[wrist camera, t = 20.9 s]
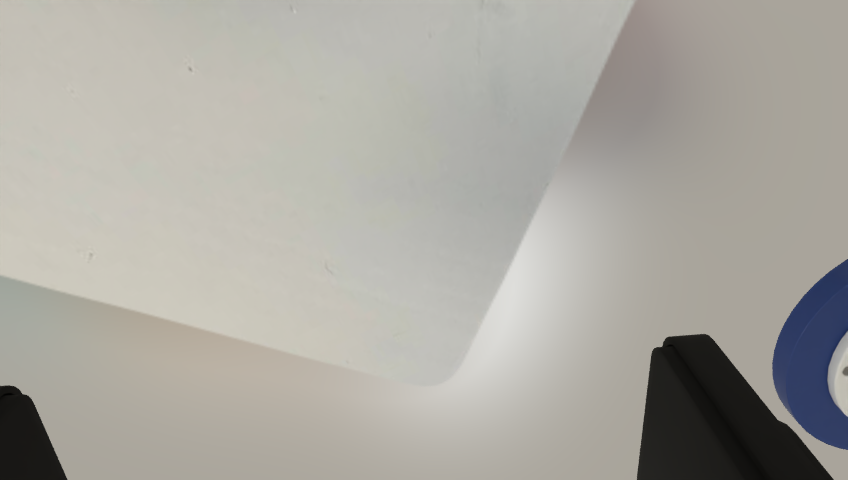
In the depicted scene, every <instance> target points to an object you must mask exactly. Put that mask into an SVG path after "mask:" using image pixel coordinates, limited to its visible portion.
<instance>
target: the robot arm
mask: <svg viewBox="0 0 848 480" xmlns="http://www.w3.org/2000/svg"><path fill="white" fill-rule="evenodd" d="M827 381H828V387H829V393H830V395H831V397H832V399H833V401H834V403H835V404H836V405H837V406H838V407H839V408H840V410H841V411H842V412H843V413H844V414H845V415H846V416H847V417H848V331H847V332H846V334H845V335H844V336H843V337H842V339H841V340H840V342H839V344H838V346H837V347H836V349H835V351H834V353H833V355H832V358H831V361H830V364H829V368H828V378H827ZM0 480H67V478H66V476H65V473H64V471H63V469H62V467H61V464H60V462H59V460H58V457H57V455H56V453H55V451H54V448H53V446H52V444H51V441H50V439H49V437H48V435H47V432H46V430H45V428H44V426H43V423H42V421H41V419H40V417H39V414H38V412H37V410H36V407H35V405H34V403H33V401H32V399H31V398H30V397H29V396H27V395H23V394H22V393H21V391H20V390H19V389H18V388H16V387H14V386H0ZM637 480H833V478H832V477H831V476H830V475H829V473H828V472H827V471H826V470H825V468H824V467H823V466H822V465H821V464H820V462H819V461H818V460H817V459H816V457H815V456H814V455H813V454H812V453H811V451H810V450H809V449H808V448H807V446H806V445H805V444H804V443H803V442H802V440H801V439H800V438H799V437H798V435H797V434H796V433H795V432H794V431H793V430H792V429H791V428H790V427H789V426H788V425H787V424H785V423H783V422H781V421H778V420H777V419H776V417H775V416H774V415H773V414H772V413H771V411H770V410H769V409H768V407H767V406H766V405H765V404H764V403H763V401H762V400H761V399H760V398H759V396H758V395H757V394H756V392H755V391H754V390H753V389H752V387H751V386H750V385H749V384H748V382H747V381H746V380H745V379H744V377H743V376H742V375H741V374H740V373H739V371H738V370H737V369H736V368H735V366H734V365H733V364H732V363H731V361H730V360H729V359H728V357H727V356H726V355H725V354H724V353H723V351H722V350H721V349H720V348H719V346H718V345H717V344H716V343H715V341H714V340H713V339H712V338H711V337H710V336H709V335H706V334H700V335H686V336H673V337H667V338H666V339H665V341H664V342H663V346H662V347H657V348H654V349H653V351H652V356H651V363H650V371H649V380H648V388H647V397H646V405H645V415H644V422H643V432H642V440H641V448H640V456H639V466H638V474H637Z"/></svg>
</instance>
